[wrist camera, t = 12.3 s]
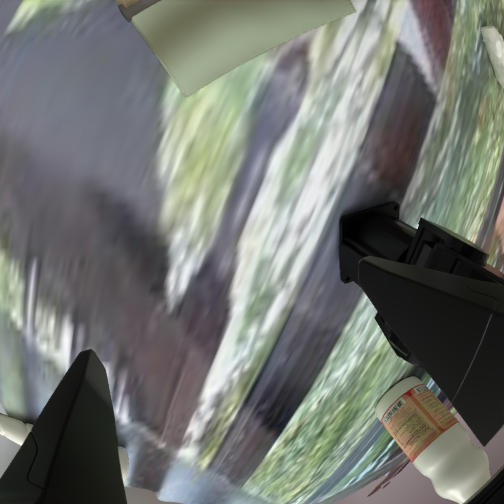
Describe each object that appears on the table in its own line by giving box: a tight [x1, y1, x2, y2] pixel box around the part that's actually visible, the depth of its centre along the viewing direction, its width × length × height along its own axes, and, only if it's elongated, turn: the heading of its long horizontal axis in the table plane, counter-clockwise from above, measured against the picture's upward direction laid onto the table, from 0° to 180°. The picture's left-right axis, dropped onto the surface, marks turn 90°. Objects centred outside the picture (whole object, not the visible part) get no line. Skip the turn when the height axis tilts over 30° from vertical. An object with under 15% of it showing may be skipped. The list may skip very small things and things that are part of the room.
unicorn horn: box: [0, 413, 129, 482], centre depth 22 cm, size 5×24×5 cm, turn 54°
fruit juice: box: [375, 376, 491, 504], centre depth 33 cm, size 9×9×28 cm
